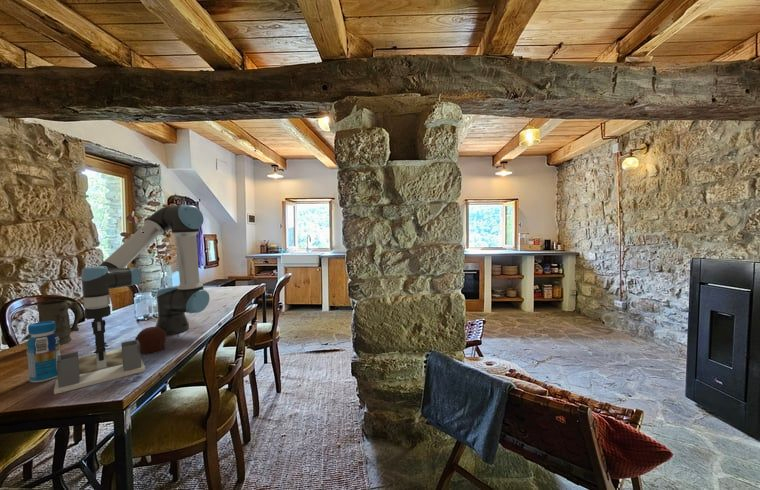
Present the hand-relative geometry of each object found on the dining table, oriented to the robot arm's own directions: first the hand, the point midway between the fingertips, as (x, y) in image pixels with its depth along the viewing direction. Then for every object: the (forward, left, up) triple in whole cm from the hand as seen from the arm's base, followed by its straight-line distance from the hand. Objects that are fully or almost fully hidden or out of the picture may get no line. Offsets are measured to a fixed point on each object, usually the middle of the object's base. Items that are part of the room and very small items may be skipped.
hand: (101, 365), depth 124 cm
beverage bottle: (+15, -2, -1) cm, 15 cm away
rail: (0, 0, -1) cm, 1 cm away
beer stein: (+13, -52, -1) cm, 54 cm away
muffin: (-17, -6, -1) cm, 18 cm away
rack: (0, +12, -1) cm, 12 cm away
